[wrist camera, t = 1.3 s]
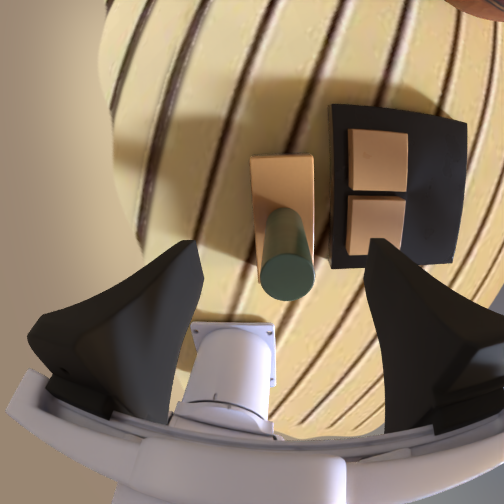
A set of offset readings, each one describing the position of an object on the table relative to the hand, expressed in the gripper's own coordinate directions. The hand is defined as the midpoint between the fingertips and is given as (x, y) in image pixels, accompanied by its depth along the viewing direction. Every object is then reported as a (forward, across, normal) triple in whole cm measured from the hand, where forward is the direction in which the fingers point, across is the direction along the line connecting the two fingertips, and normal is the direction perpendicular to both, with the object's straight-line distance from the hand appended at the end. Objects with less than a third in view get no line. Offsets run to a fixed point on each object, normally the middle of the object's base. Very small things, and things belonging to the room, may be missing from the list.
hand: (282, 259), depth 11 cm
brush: (+9, 0, +2) cm, 10 cm away
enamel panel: (+10, -9, 0) cm, 14 cm away
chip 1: (+9, -6, -2) cm, 11 cm away
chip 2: (+8, -6, +2) cm, 11 cm away
